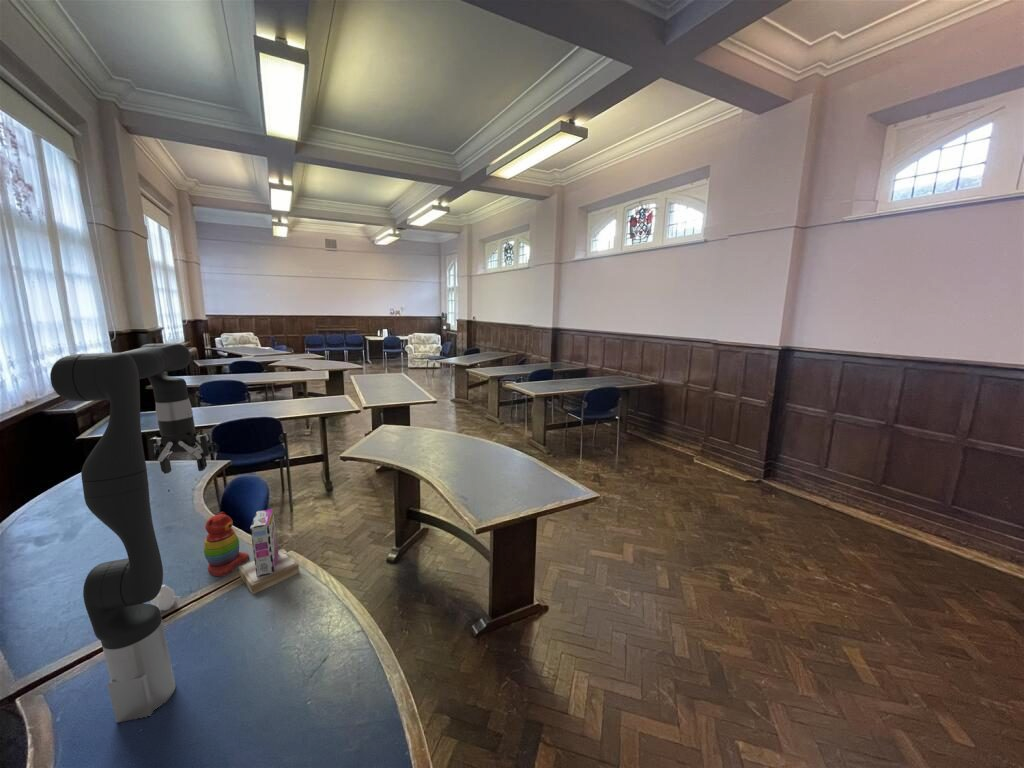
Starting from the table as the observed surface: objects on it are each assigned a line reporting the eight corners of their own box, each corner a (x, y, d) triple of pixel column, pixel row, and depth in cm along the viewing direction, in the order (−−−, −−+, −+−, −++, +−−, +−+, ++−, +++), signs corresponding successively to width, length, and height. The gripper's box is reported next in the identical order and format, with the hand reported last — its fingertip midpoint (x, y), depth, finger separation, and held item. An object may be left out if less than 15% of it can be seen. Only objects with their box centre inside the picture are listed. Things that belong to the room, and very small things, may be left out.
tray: (299, 572, 128) (298, 563, 127) (253, 594, 118) (251, 584, 118) (284, 556, 136) (282, 547, 136) (239, 575, 127) (238, 566, 126)
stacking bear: (224, 577, 126) (215, 526, 122) (197, 573, 128) (188, 522, 124) (252, 556, 136) (245, 508, 133) (227, 553, 138) (219, 506, 135)
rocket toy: (158, 618, 110) (152, 593, 108) (151, 610, 113) (146, 585, 111) (182, 606, 114) (177, 581, 112) (175, 598, 117) (170, 574, 115)
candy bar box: (275, 573, 123) (268, 524, 119) (256, 577, 121) (249, 528, 117) (279, 553, 133) (273, 507, 129) (262, 556, 131) (255, 510, 127)
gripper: (135, 421, 105) (147, 479, 108) (197, 418, 108) (206, 474, 111) (154, 414, 112) (164, 468, 115) (211, 411, 115) (220, 464, 118)
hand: (185, 471), depth 113 cm, fingers open, 8 cm apart
